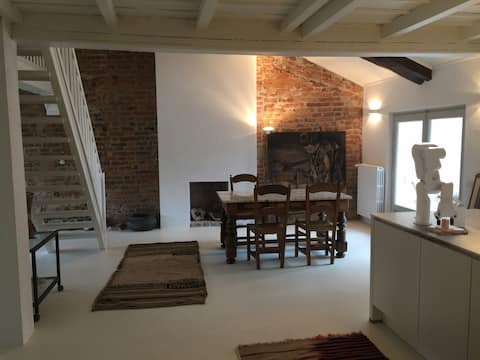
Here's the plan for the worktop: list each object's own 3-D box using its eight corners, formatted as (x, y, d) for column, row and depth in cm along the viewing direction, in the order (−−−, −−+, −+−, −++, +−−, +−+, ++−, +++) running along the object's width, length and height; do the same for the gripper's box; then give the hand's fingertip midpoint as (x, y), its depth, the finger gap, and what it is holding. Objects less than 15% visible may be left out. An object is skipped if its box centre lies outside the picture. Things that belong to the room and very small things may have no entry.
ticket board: (425, 230, 281) (425, 226, 281) (451, 228, 285) (451, 225, 284) (440, 235, 266) (440, 231, 265) (467, 234, 269) (468, 230, 269)
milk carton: (459, 225, 296) (460, 199, 294) (464, 227, 289) (466, 201, 287) (449, 225, 295) (450, 199, 293) (455, 227, 288) (456, 201, 286)
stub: (435, 228, 280) (435, 217, 279) (442, 227, 281) (443, 217, 280) (447, 232, 268) (447, 221, 268) (454, 231, 269) (455, 221, 269)
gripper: (454, 198, 278) (452, 223, 279) (431, 199, 275) (430, 224, 277) (461, 200, 270) (460, 225, 272) (438, 201, 267) (437, 226, 269)
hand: (445, 225), depth 274 cm, fingers open, 9 cm apart
